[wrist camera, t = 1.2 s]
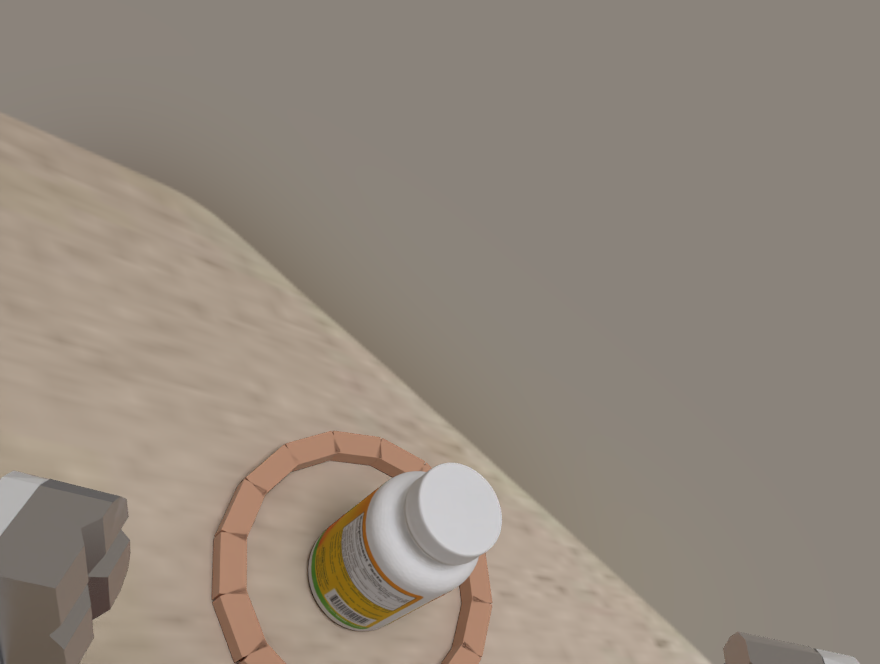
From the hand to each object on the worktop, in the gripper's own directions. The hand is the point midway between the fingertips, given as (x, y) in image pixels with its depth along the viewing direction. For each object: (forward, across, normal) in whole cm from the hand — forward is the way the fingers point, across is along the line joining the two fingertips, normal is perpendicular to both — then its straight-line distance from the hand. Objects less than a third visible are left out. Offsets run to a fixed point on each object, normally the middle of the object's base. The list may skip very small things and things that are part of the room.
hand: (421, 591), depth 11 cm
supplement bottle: (+20, +3, +24) cm, 31 cm away
